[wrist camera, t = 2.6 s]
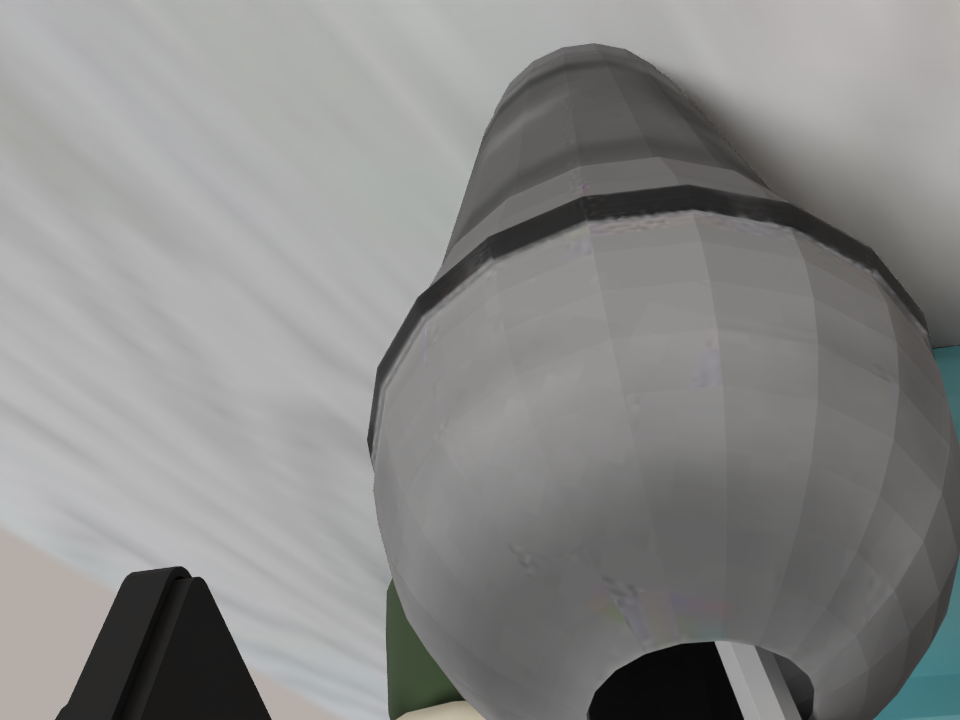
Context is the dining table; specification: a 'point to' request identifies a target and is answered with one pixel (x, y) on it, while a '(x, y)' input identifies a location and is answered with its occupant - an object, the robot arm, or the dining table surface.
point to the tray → (956, 647)
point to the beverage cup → (659, 429)
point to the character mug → (417, 674)
